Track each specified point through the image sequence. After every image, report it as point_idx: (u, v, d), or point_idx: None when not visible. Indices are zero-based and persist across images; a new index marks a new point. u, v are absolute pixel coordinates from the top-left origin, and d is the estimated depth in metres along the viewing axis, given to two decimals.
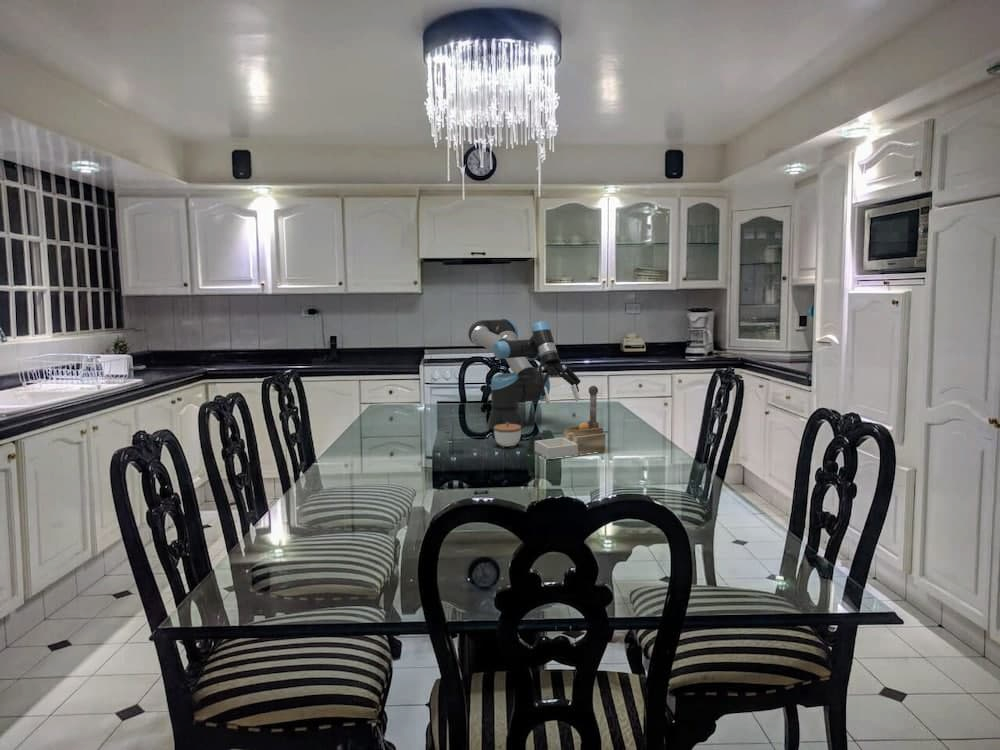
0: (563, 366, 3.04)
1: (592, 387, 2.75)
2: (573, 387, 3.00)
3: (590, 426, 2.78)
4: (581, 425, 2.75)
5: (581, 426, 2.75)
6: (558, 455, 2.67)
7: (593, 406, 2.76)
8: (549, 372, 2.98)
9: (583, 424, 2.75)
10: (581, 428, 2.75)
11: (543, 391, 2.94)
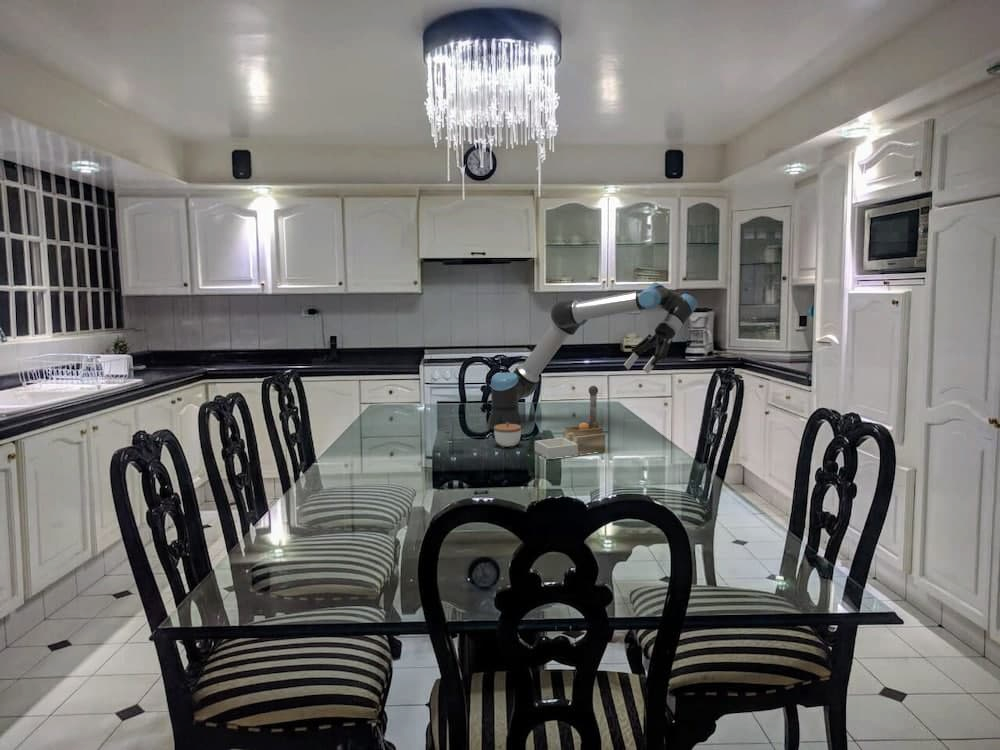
0: None
1: (592, 387, 2.75)
2: (635, 357, 2.89)
3: (590, 426, 2.78)
4: (581, 425, 2.75)
5: (581, 426, 2.75)
6: (558, 455, 2.67)
7: (593, 406, 2.76)
8: None
9: (583, 424, 2.75)
10: (581, 428, 2.75)
11: None
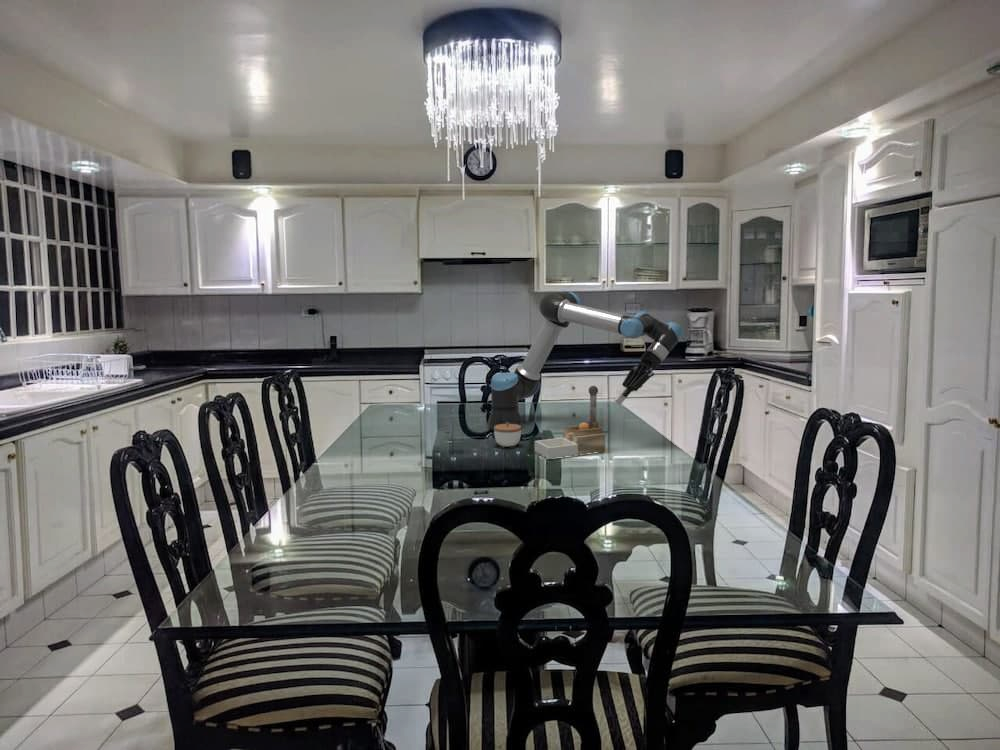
0: None
1: (592, 387, 2.75)
2: None
3: (590, 426, 2.78)
4: (581, 425, 2.75)
5: (581, 426, 2.75)
6: (558, 455, 2.67)
7: (593, 406, 2.76)
8: None
9: (583, 424, 2.75)
10: (581, 428, 2.75)
11: None
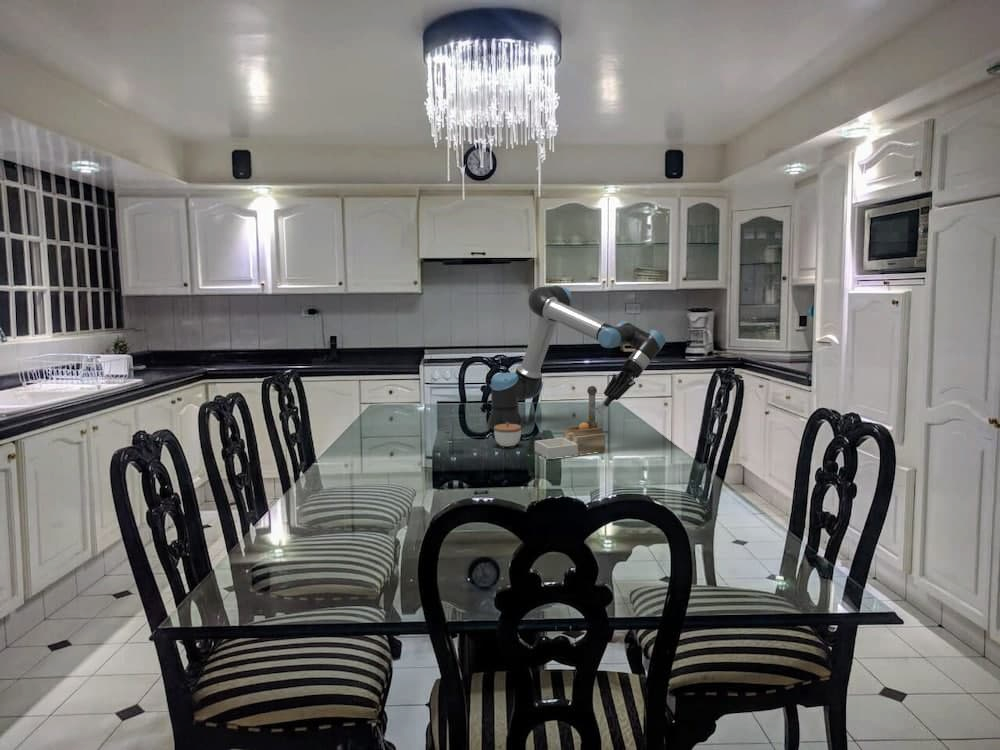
0: None
1: (591, 387, 2.75)
2: None
3: (589, 426, 2.78)
4: (581, 425, 2.75)
5: (581, 426, 2.75)
6: (558, 455, 2.67)
7: (592, 406, 2.75)
8: None
9: (583, 424, 2.75)
10: (581, 428, 2.75)
11: None
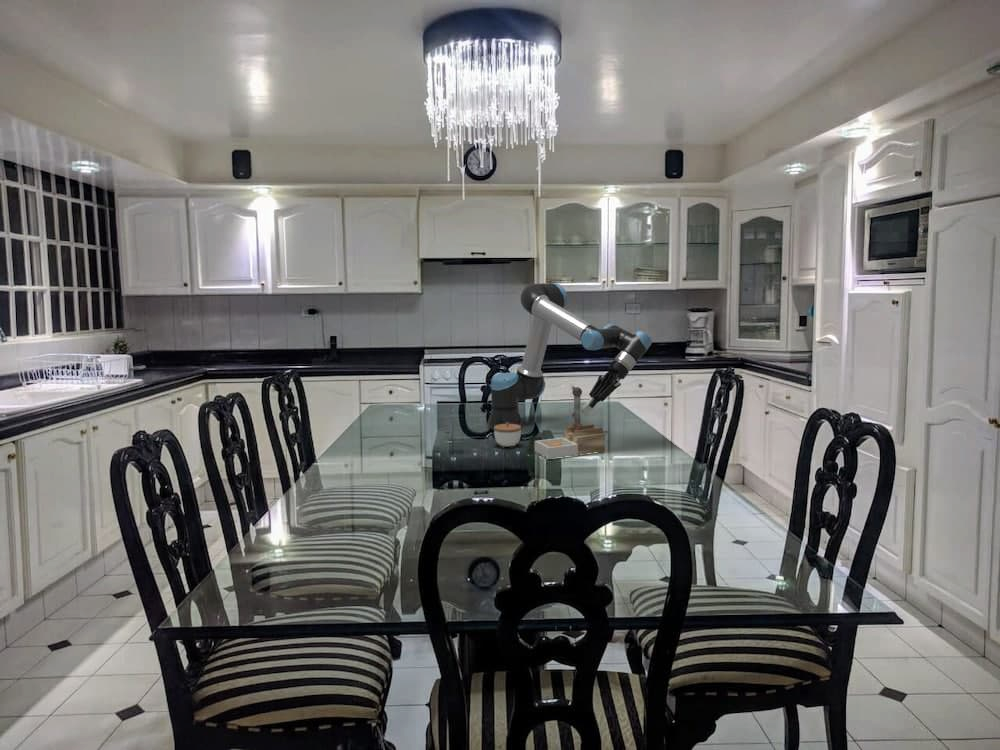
0: None
1: (576, 389, 2.72)
2: None
3: (574, 428, 2.75)
4: None
5: None
6: (558, 455, 2.67)
7: (577, 408, 2.73)
8: None
9: None
10: None
11: None
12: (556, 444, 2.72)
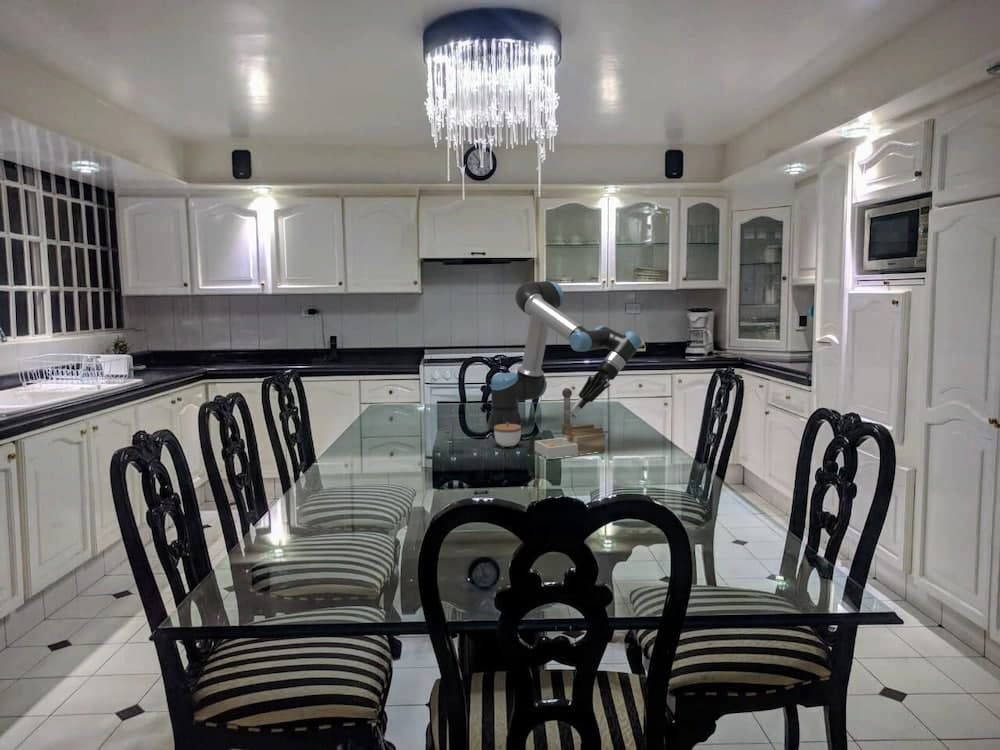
0: None
1: (566, 389, 2.70)
2: None
3: (564, 429, 2.74)
4: None
5: None
6: (558, 455, 2.67)
7: (567, 409, 2.71)
8: None
9: None
10: None
11: None
12: None
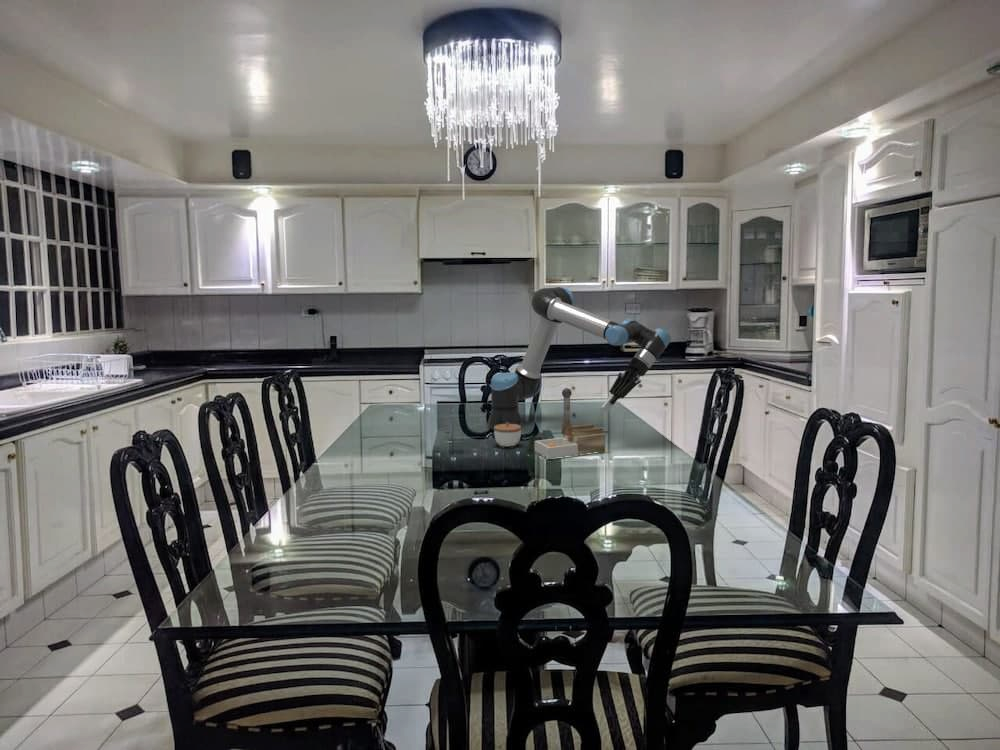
0: None
1: (565, 389, 2.70)
2: None
3: (564, 429, 2.74)
4: None
5: None
6: (558, 455, 2.67)
7: (567, 409, 2.71)
8: None
9: None
10: None
11: None
12: None
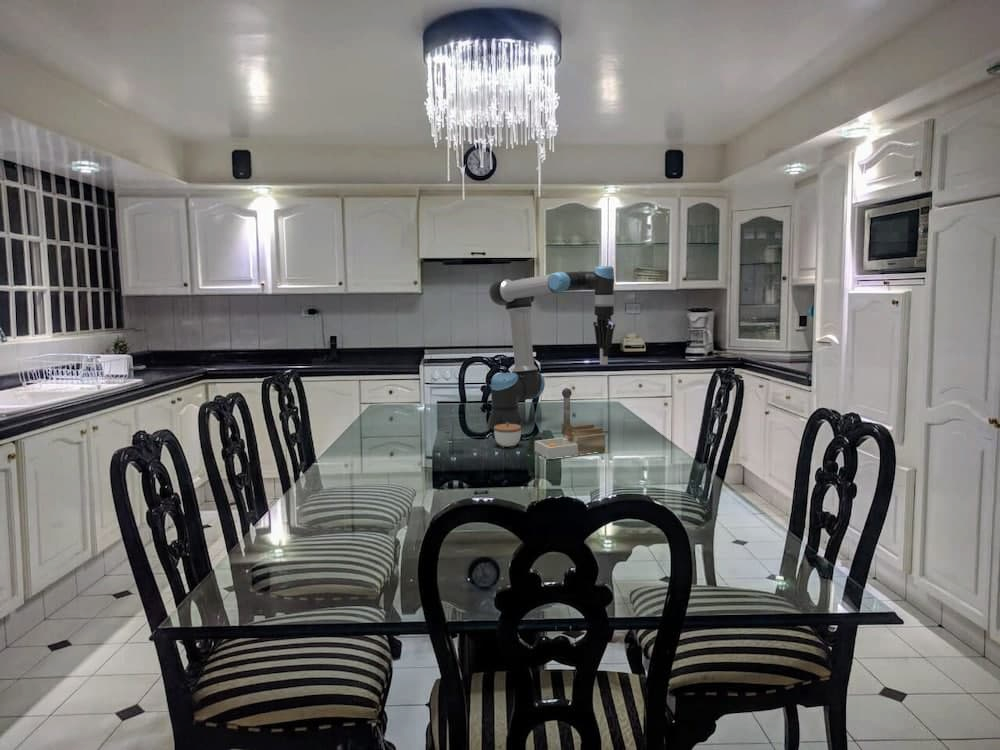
0: None
1: (565, 389, 2.70)
2: None
3: (564, 429, 2.74)
4: None
5: None
6: (558, 455, 2.67)
7: (567, 409, 2.71)
8: None
9: None
10: None
11: None
12: None
